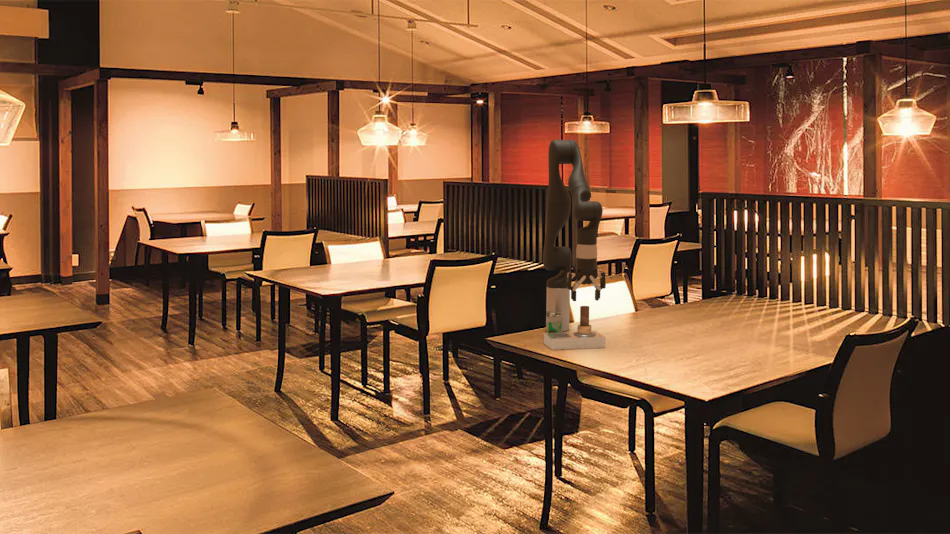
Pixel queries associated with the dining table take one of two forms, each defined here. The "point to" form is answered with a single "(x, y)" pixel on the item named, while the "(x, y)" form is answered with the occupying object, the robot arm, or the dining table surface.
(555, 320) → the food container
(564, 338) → the bore block
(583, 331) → the brown wooden peg
